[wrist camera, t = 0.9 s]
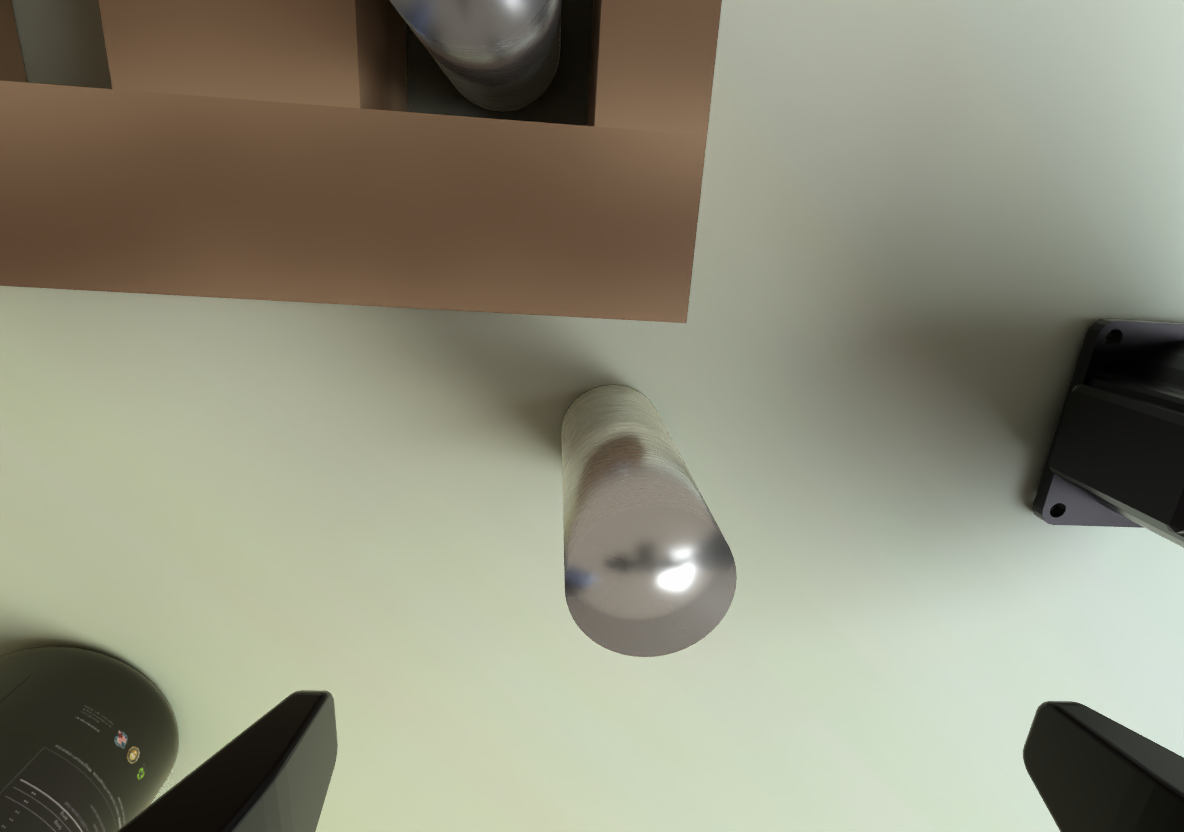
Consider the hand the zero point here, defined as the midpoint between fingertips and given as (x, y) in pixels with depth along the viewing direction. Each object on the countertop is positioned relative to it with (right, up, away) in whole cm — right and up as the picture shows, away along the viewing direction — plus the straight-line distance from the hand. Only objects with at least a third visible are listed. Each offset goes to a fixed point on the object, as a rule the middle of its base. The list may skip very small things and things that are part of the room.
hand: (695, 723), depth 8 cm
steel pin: (-1, +3, +10) cm, 11 cm away
